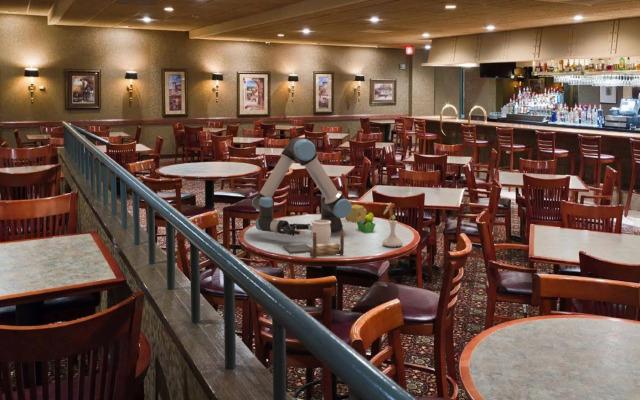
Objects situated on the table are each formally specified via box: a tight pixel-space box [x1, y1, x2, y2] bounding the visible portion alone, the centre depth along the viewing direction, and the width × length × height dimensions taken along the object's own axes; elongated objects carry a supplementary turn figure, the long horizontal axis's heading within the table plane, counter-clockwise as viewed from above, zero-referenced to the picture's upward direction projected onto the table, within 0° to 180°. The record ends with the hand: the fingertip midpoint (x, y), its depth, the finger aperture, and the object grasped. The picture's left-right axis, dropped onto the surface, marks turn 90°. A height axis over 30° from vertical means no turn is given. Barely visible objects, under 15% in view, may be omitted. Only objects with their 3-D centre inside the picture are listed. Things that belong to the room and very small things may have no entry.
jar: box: [310, 219, 332, 244], centre depth 350 cm, size 11×10×15 cm
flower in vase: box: [381, 202, 403, 248], centre depth 355 cm, size 13×11×25 cm
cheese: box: [344, 204, 368, 223], centre depth 424 cm, size 10×11×10 cm
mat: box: [282, 243, 312, 255], centre depth 347 cm, size 13×14×1 cm
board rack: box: [309, 230, 345, 259], centre depth 335 cm, size 17×7×13 cm, turn 109°
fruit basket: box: [356, 212, 376, 233], centre depth 394 cm, size 11×9×11 cm
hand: (312, 231), depth 352 cm, fingers open, 13 cm apart
